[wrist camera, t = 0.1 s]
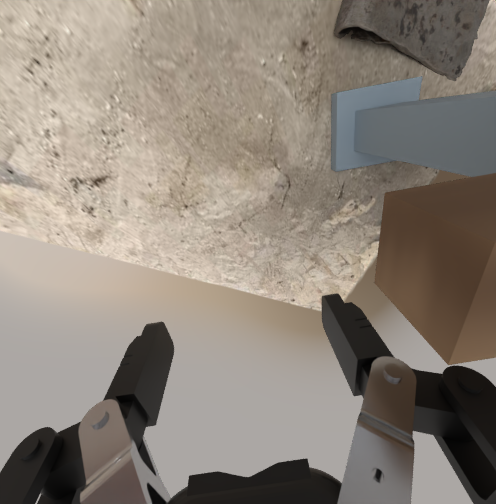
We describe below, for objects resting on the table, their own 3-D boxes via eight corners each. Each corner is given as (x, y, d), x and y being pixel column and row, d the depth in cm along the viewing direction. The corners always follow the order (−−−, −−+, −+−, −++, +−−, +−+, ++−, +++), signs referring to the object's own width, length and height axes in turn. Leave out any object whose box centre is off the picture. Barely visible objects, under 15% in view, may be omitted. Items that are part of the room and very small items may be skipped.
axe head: (529, -22, 27) (476, 83, 31) (482, -3, 31) (441, 87, 36) (384, -102, 21) (345, 40, 26) (351, -65, 26) (322, 50, 30)
